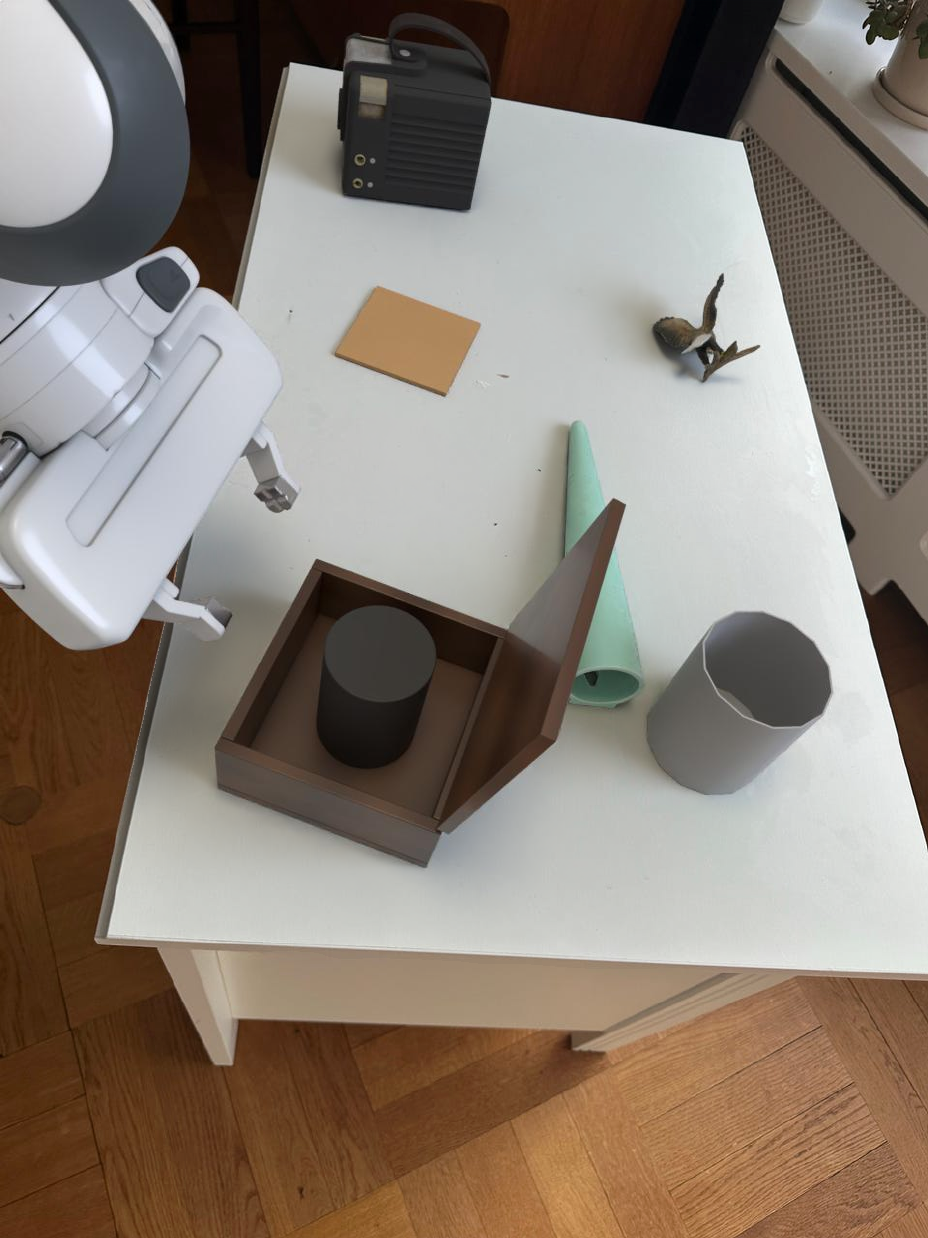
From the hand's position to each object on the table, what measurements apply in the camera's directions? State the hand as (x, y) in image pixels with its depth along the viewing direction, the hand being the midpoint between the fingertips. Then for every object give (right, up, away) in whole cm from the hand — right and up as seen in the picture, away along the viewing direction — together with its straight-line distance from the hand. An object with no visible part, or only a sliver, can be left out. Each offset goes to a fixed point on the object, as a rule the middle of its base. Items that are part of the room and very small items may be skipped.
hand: (256, 562), depth 52 cm
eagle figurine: (+33, +22, +37) cm, 54 cm away
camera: (+5, +42, +44) cm, 61 cm away
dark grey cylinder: (+5, -10, +9) cm, 14 cm away
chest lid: (+15, -6, -2) cm, 16 cm away
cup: (+28, -12, +14) cm, 33 cm away
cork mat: (+7, +21, +30) cm, 38 cm away
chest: (+5, -10, +9) cm, 15 cm away
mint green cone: (+21, +2, +21) cm, 29 cm away
